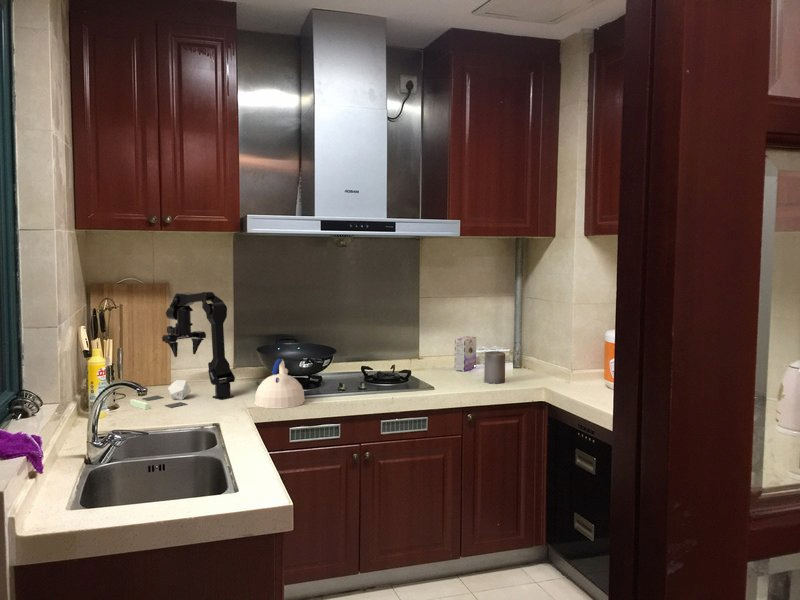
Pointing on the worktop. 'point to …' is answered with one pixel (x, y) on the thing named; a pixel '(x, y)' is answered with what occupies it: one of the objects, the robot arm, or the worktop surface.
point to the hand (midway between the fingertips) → (185, 355)
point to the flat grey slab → (146, 405)
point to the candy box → (465, 353)
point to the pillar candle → (494, 367)
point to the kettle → (279, 389)
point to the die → (179, 389)
